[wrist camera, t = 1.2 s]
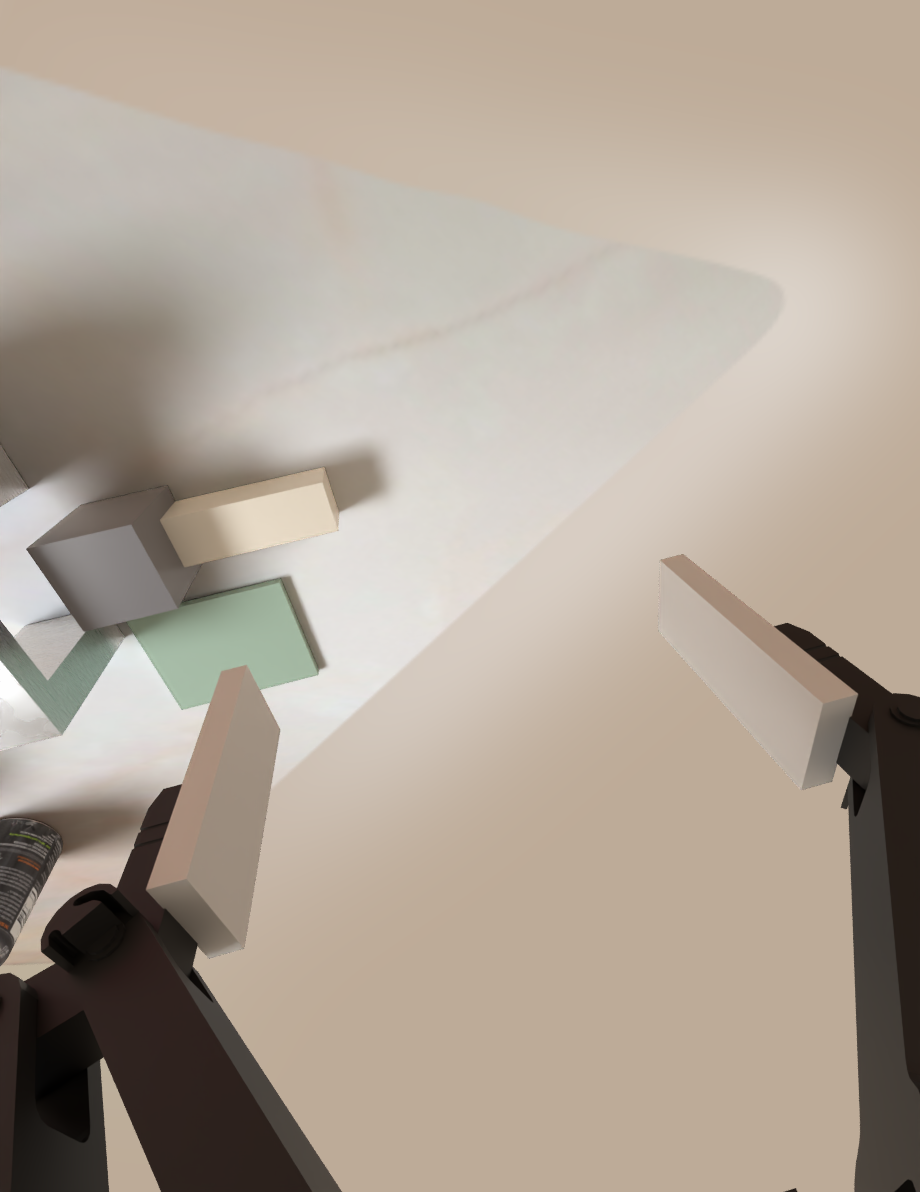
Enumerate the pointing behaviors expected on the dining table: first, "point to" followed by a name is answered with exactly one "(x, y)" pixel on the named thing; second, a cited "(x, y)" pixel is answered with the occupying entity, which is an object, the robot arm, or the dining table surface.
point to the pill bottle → (23, 873)
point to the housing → (46, 661)
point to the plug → (171, 542)
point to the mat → (226, 641)
